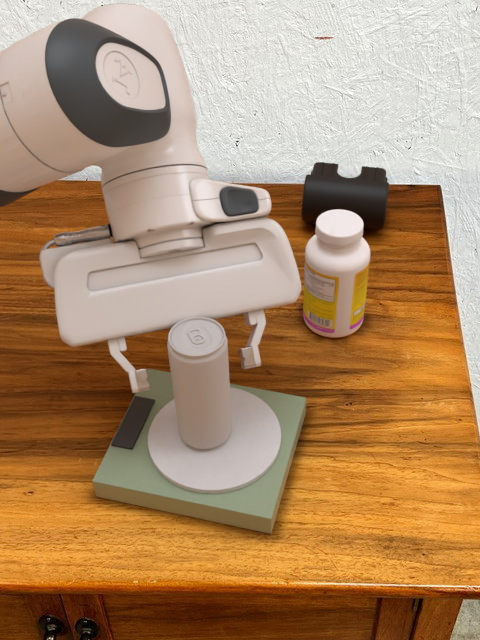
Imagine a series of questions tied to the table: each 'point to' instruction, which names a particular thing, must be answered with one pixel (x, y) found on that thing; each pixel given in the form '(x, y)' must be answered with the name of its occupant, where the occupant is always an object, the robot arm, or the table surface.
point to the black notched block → (346, 194)
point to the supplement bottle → (336, 274)
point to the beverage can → (200, 381)
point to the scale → (204, 457)
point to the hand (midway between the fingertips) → (197, 379)
